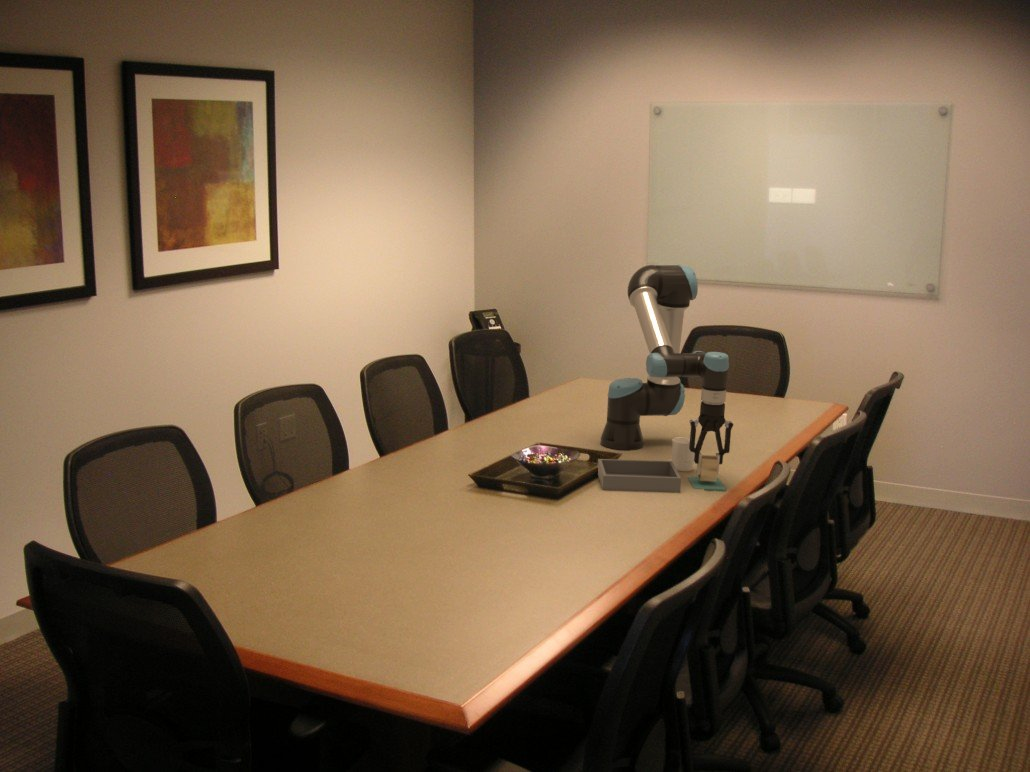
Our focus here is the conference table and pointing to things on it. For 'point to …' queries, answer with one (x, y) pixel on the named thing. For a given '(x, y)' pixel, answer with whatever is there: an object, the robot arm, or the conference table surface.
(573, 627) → the conference table surface
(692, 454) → the white cup
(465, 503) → the conference table surface
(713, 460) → the maple block
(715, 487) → the teal mat
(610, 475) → the crate
